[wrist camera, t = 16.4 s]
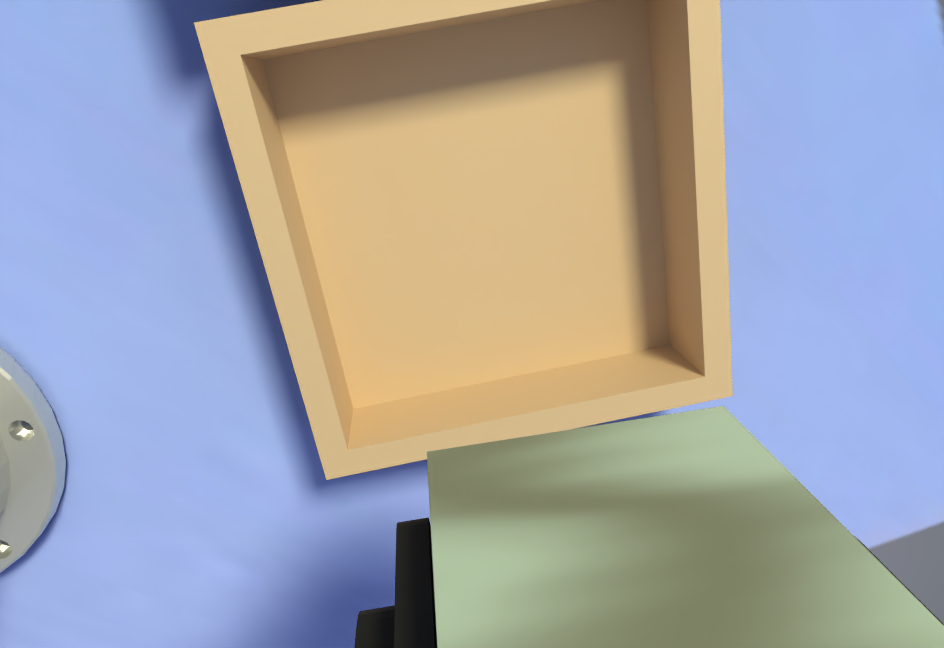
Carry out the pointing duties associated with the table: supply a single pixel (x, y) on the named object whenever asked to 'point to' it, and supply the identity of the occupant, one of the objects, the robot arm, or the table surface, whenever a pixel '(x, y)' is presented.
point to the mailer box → (483, 212)
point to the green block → (651, 546)
